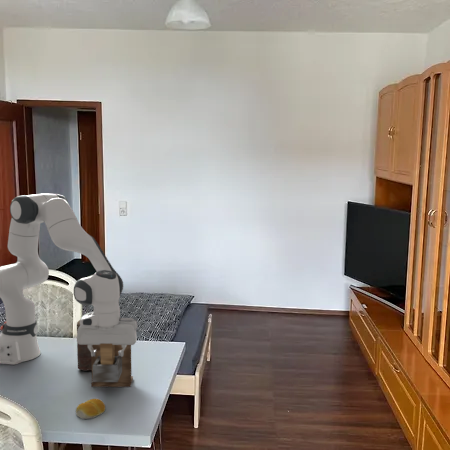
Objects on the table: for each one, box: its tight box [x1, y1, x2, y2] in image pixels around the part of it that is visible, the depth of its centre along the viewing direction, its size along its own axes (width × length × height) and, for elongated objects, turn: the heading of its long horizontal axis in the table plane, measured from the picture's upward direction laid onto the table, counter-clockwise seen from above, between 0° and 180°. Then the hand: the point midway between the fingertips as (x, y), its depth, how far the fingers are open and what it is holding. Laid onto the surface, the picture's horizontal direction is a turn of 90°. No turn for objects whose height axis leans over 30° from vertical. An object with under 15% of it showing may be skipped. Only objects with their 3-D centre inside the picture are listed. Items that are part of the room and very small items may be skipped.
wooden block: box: [100, 344, 115, 365], centre depth 169 cm, size 4×4×12 cm
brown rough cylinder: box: [76, 319, 92, 372], centre depth 188 cm, size 8×7×20 cm
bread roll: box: [75, 398, 106, 420], centre depth 158 cm, size 8×9×4 cm
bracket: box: [91, 345, 134, 388], centre depth 173 cm, size 14×15×16 cm
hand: (107, 356), depth 169 cm, fingers open, 8 cm apart
